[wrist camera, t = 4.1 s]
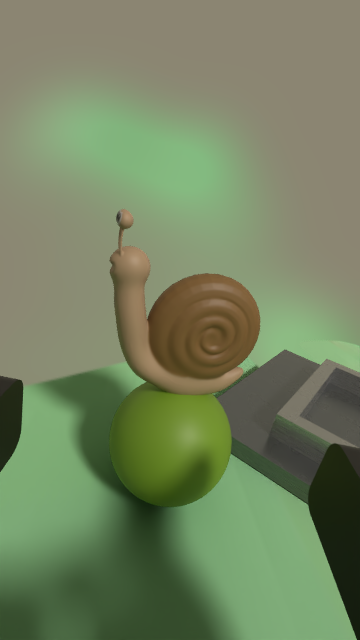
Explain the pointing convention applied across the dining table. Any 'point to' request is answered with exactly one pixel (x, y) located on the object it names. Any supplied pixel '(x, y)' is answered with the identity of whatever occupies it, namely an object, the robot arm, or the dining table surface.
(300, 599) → the dining table surface
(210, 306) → the snail figurine
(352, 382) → the tray
